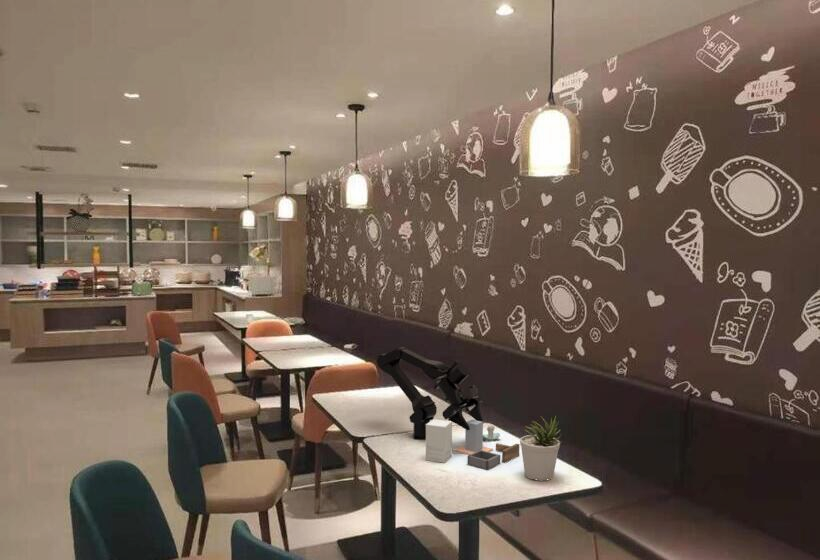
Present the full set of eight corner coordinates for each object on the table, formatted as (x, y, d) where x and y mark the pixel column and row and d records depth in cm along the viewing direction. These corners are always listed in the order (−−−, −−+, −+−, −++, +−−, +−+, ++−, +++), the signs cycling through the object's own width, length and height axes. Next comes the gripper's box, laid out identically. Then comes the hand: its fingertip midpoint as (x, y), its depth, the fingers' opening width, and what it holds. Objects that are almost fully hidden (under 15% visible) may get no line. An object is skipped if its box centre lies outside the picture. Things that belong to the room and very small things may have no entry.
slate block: (465, 449, 213) (465, 422, 212) (471, 446, 216) (472, 419, 216) (475, 452, 210) (476, 424, 210) (482, 449, 213) (482, 421, 213)
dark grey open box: (467, 464, 199) (467, 455, 199) (480, 458, 205) (480, 449, 205) (487, 470, 194) (487, 461, 194) (500, 463, 200) (500, 454, 200)
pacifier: (477, 438, 228) (484, 442, 223) (477, 422, 228) (484, 426, 223) (494, 436, 231) (501, 440, 225) (494, 420, 231) (501, 424, 225)
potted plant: (536, 487, 180) (538, 423, 179) (511, 472, 193) (512, 411, 192) (569, 481, 185) (571, 419, 184) (543, 466, 198) (544, 408, 197)
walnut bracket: (482, 456, 207) (482, 445, 206) (497, 449, 214) (497, 438, 214) (505, 462, 201) (505, 451, 201) (519, 455, 209) (519, 444, 209)
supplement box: (452, 456, 207) (453, 421, 206) (444, 463, 200) (445, 426, 199) (433, 453, 210) (433, 418, 209) (424, 460, 203) (425, 423, 202)
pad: (454, 451, 212) (454, 449, 212) (469, 444, 220) (469, 442, 220) (478, 457, 206) (478, 456, 206) (492, 450, 214) (492, 448, 214)
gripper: (449, 382, 208) (475, 419, 201) (478, 374, 222) (503, 409, 216) (431, 401, 213) (456, 437, 206) (460, 392, 227) (484, 425, 221)
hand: (476, 426), depth 212 cm, fingers open, 9 cm apart
